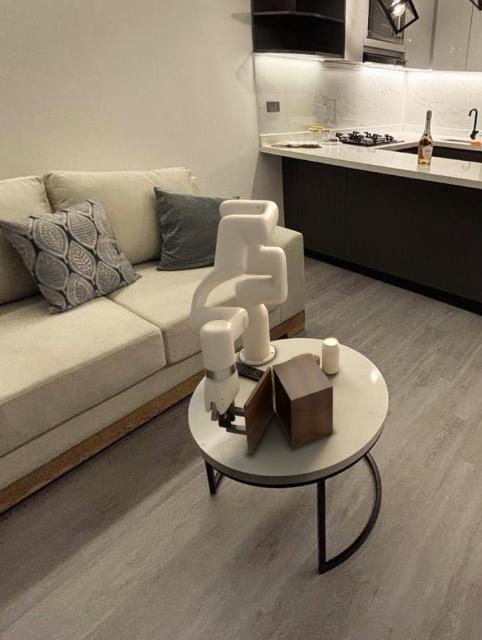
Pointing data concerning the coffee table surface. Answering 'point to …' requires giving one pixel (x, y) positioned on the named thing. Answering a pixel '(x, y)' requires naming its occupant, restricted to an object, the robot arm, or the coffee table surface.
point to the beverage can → (330, 355)
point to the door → (255, 411)
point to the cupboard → (303, 400)
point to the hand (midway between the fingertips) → (227, 423)
